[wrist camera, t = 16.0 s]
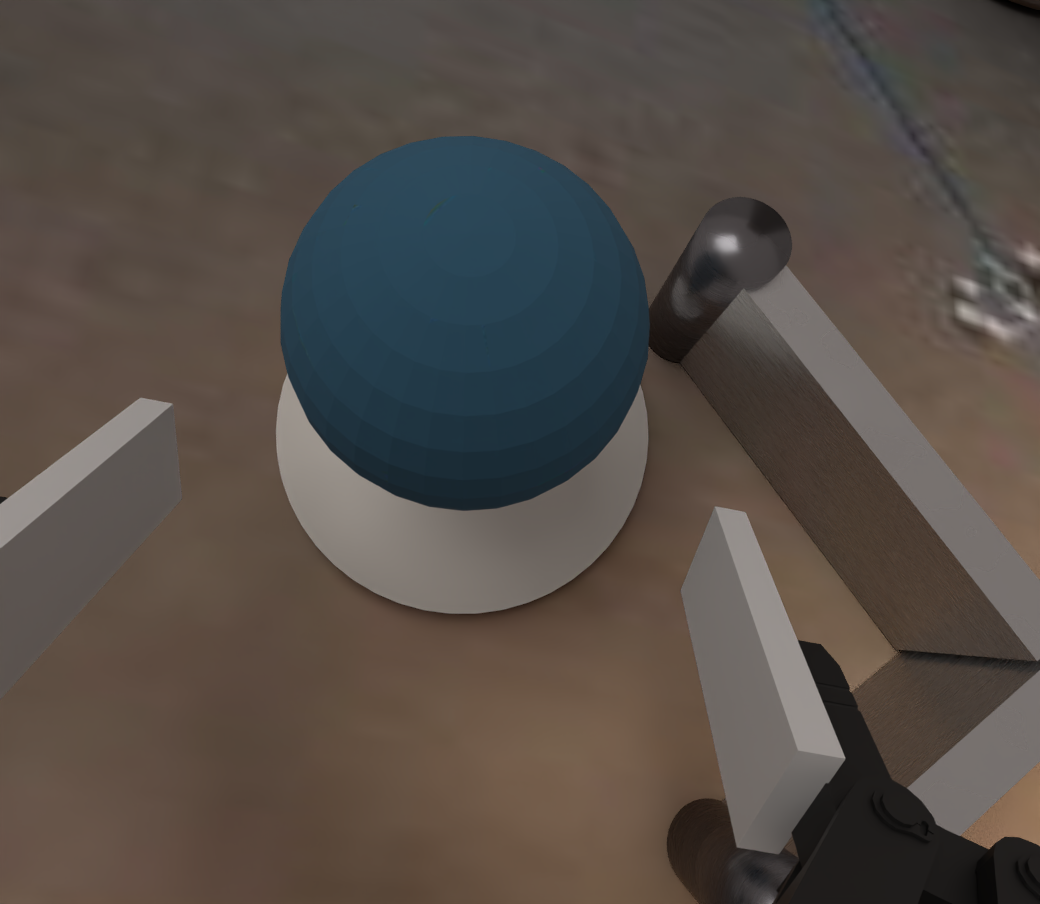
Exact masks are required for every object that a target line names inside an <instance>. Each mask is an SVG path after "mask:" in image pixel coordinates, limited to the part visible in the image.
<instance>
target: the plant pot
mask: <svg viewBox="0 0 1040 904" xmlns="http://www.w3.org/2000/svg"><path fill="white" fill-rule="evenodd" d="M1009 1H1011V2H1014V3H1017V4H1020V5H1023V6H1026V7H1029V8H1032V9H1036V10H1040V0H1009Z"/></svg>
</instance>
